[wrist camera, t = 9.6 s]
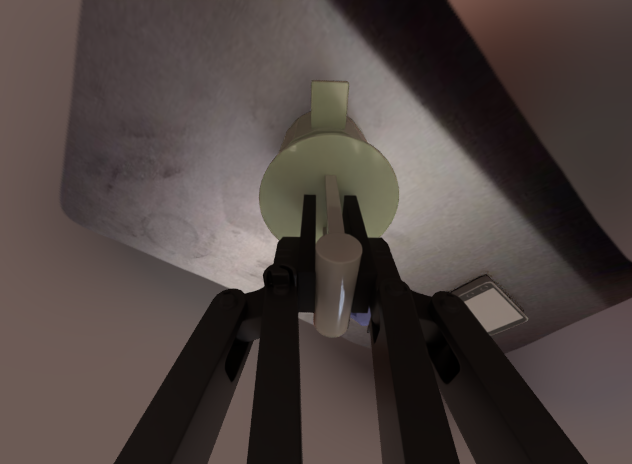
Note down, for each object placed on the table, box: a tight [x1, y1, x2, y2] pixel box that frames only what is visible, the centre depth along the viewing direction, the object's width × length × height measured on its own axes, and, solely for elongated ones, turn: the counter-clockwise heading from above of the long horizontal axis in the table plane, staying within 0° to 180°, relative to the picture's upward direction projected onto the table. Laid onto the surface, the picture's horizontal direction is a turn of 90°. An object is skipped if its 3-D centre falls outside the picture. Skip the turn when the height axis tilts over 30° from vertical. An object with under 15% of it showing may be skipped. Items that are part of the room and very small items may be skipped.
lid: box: [259, 133, 399, 337], centre depth 13 cm, size 9×9×9 cm
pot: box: [279, 80, 368, 153], centre depth 21 cm, size 8×14×8 cm, turn 179°
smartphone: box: [451, 276, 528, 336], centre depth 39 cm, size 7×1×15 cm
